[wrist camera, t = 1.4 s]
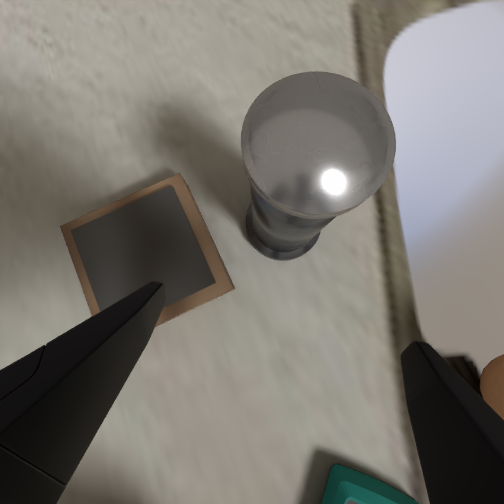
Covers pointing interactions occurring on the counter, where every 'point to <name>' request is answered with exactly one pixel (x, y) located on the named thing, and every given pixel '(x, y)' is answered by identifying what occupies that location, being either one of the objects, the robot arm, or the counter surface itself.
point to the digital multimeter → (360, 489)
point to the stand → (148, 250)
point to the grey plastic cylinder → (311, 158)
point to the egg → (494, 385)
